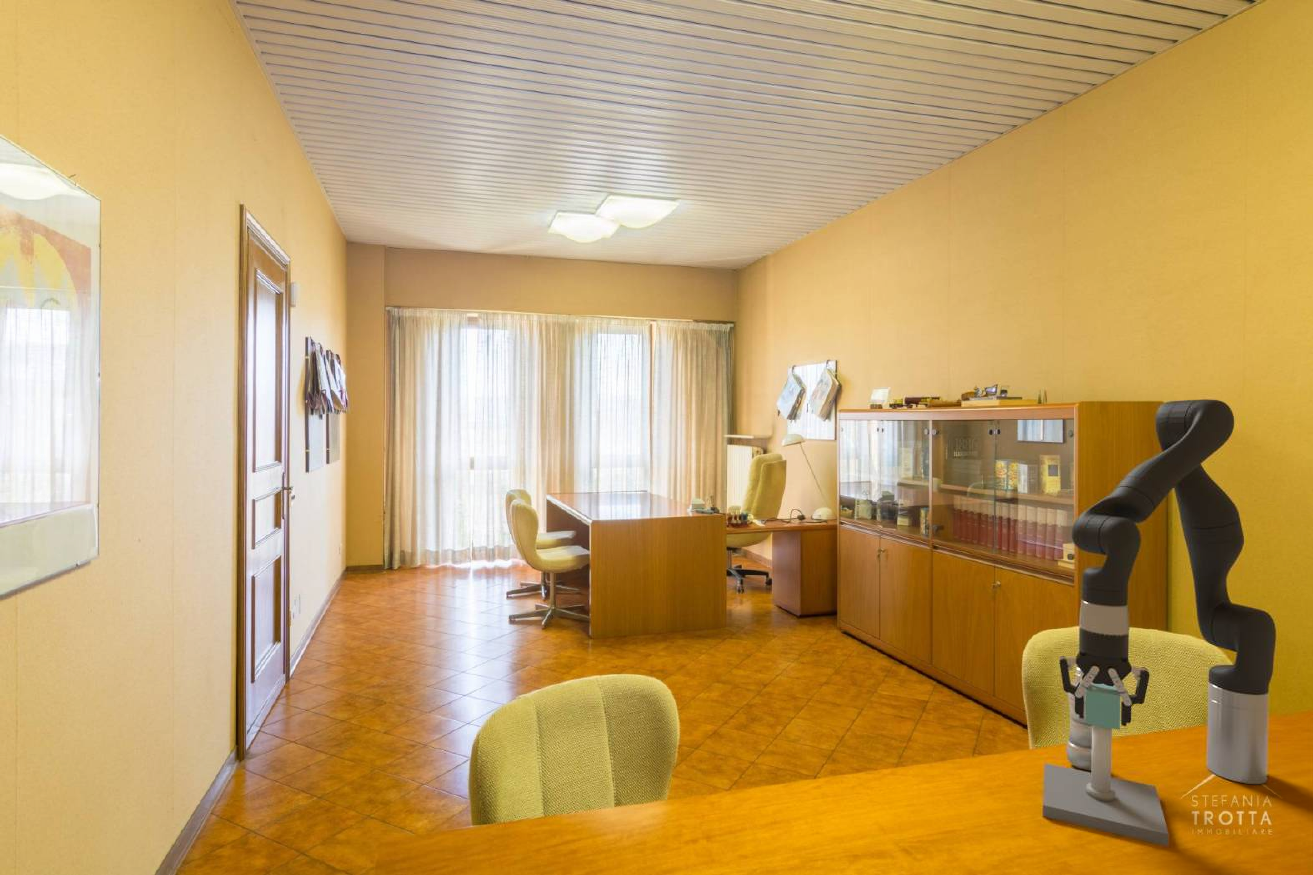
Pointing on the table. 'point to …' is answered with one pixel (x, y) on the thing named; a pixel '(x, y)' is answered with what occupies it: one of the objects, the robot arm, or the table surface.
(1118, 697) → the teal cube
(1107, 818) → the post stand
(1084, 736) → the plastic bottle
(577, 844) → the table surface
